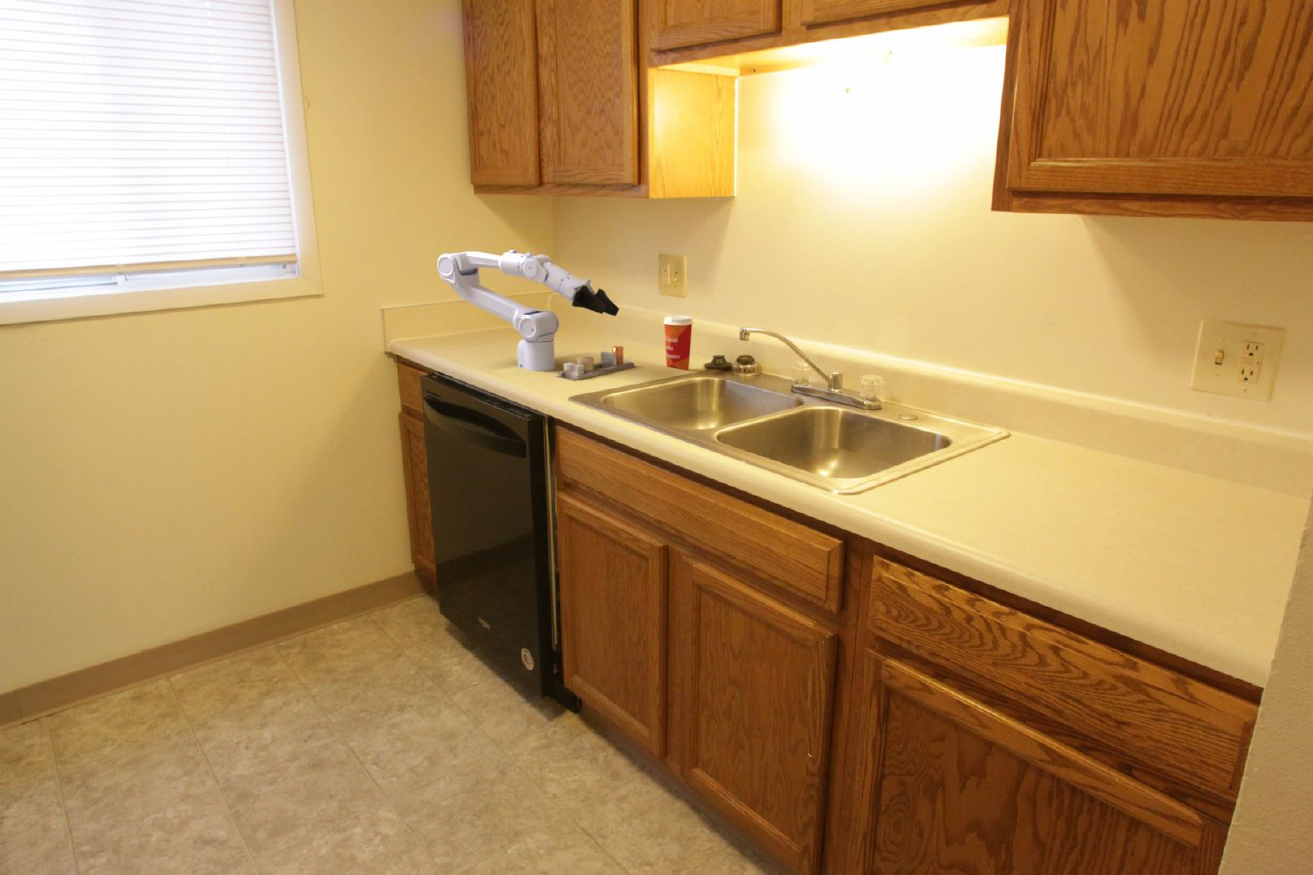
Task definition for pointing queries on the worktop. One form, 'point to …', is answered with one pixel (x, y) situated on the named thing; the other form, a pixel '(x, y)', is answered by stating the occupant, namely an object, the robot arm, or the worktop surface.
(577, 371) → the grey tray
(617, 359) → the press jaw
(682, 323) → the paper cup
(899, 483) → the worktop surface
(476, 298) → the robot arm
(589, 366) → the tan cylinder
